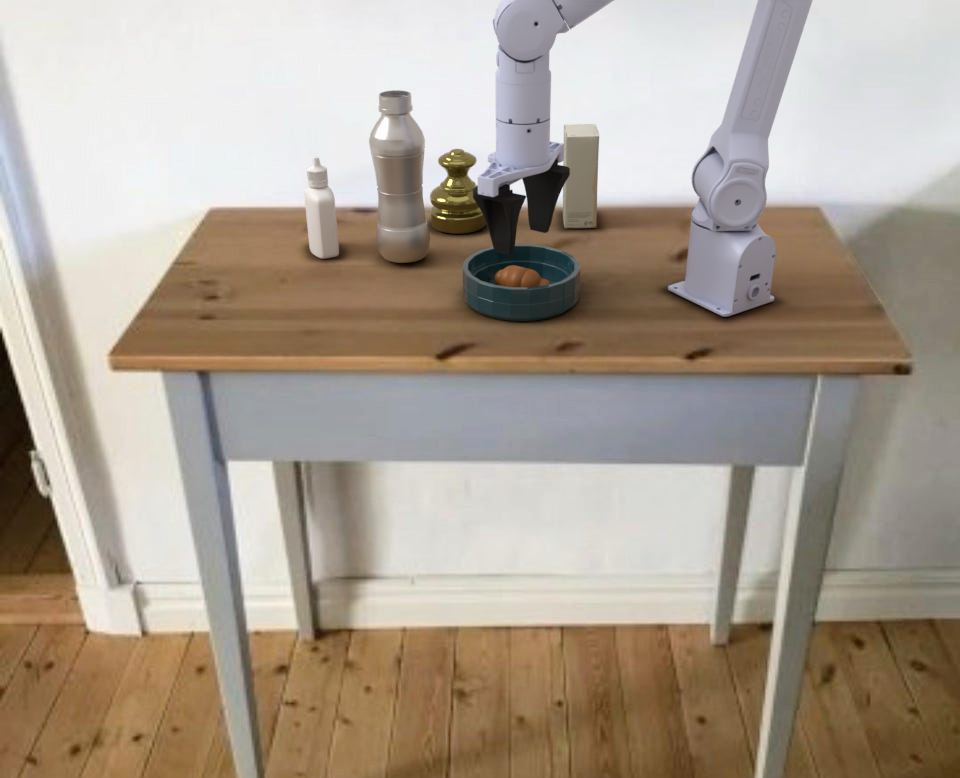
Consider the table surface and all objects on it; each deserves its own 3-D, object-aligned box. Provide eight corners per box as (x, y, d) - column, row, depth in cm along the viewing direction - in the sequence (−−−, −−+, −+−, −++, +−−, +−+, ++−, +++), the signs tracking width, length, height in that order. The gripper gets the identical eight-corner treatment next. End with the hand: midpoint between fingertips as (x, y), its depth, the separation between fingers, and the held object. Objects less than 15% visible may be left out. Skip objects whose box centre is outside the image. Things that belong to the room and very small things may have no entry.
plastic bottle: (424, 270, 130) (416, 102, 119) (370, 267, 131) (358, 100, 120) (436, 251, 135) (430, 88, 124) (385, 247, 136) (374, 86, 125)
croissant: (545, 307, 119) (545, 280, 118) (481, 291, 123) (481, 265, 122) (561, 296, 122) (562, 269, 120) (498, 280, 126) (498, 254, 124)
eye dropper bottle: (346, 243, 138) (338, 150, 131) (336, 260, 133) (328, 165, 126) (312, 242, 138) (303, 150, 131) (302, 259, 133) (292, 164, 127)
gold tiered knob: (491, 232, 140) (491, 157, 135) (435, 237, 139) (433, 161, 134) (480, 213, 146) (479, 140, 141) (426, 218, 145) (424, 144, 140)
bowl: (602, 304, 121) (604, 271, 119) (506, 333, 115) (507, 299, 113) (533, 267, 130) (533, 236, 128) (441, 292, 124) (440, 260, 122)
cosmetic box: (596, 229, 141) (601, 136, 134) (562, 229, 141) (565, 136, 134) (593, 212, 146) (597, 122, 140) (560, 212, 146) (563, 123, 140)
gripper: (526, 97, 119) (525, 215, 126) (451, 128, 108) (455, 255, 116) (582, 105, 115) (577, 226, 123) (510, 138, 105) (510, 268, 112)
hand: (521, 241), depth 119 cm, fingers open, 7 cm apart
